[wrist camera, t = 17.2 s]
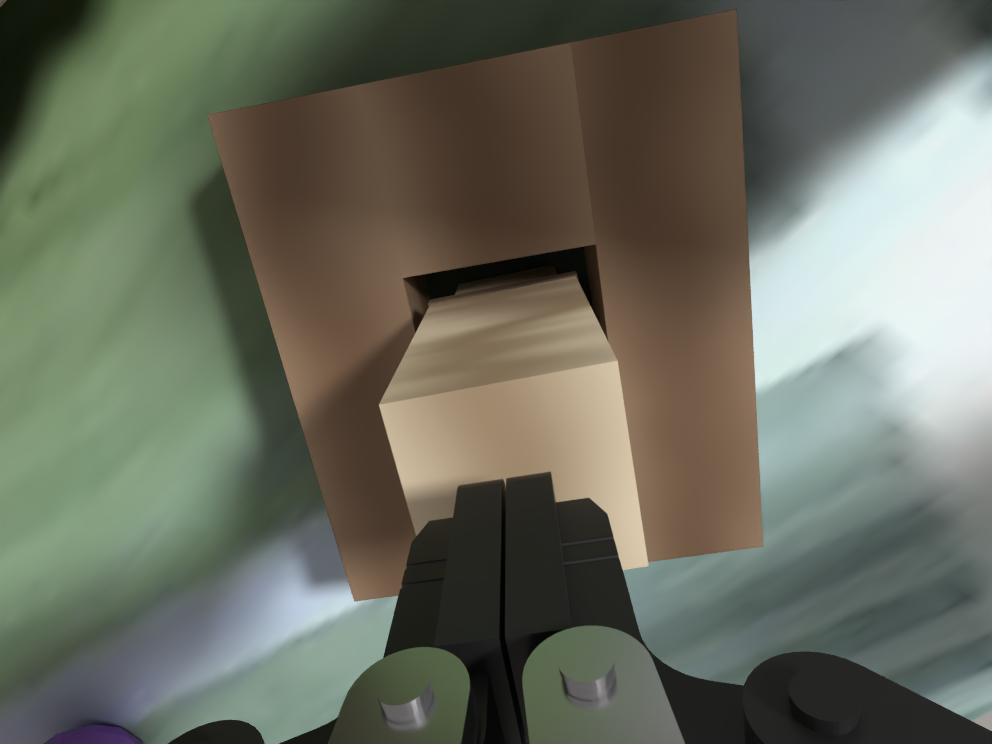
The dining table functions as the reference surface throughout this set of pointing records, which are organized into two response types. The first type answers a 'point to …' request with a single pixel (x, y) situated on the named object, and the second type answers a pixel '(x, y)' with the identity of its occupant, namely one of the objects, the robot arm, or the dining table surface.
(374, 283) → the seat board
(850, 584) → the dining table surface
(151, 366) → the dining table surface
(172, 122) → the dining table surface
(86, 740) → the kendama
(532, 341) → the beech leg
